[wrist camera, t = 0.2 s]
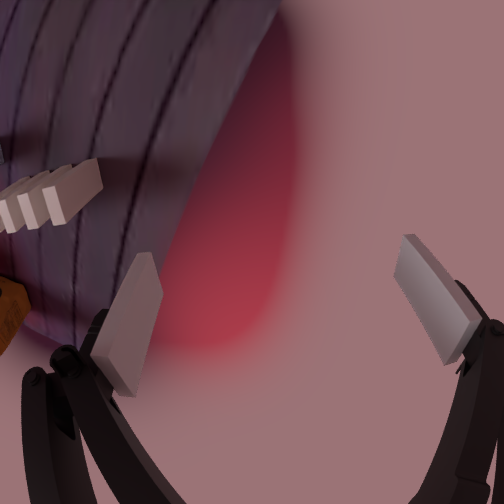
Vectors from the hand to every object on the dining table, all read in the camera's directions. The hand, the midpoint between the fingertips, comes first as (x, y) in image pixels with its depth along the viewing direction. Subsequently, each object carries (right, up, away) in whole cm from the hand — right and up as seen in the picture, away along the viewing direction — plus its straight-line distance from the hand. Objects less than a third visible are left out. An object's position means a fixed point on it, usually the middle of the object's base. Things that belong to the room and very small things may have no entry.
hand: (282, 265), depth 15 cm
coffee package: (-58, -8, +36) cm, 69 cm away
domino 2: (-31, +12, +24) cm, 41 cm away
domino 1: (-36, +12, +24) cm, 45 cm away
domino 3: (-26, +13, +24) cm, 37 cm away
